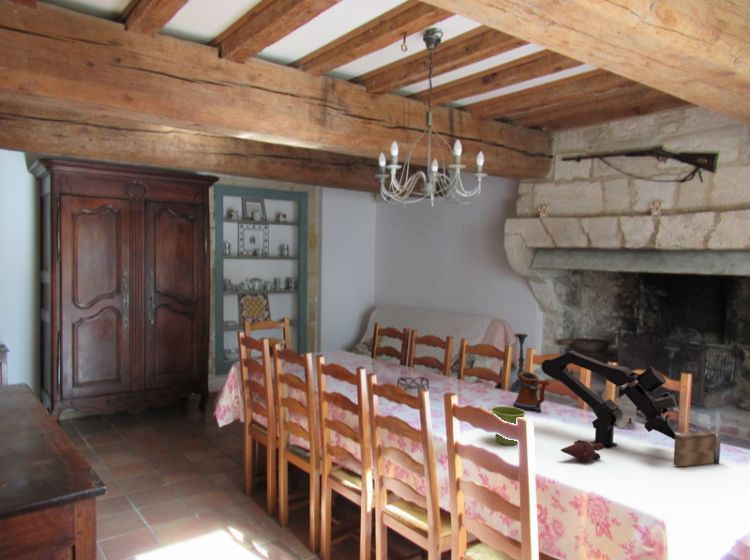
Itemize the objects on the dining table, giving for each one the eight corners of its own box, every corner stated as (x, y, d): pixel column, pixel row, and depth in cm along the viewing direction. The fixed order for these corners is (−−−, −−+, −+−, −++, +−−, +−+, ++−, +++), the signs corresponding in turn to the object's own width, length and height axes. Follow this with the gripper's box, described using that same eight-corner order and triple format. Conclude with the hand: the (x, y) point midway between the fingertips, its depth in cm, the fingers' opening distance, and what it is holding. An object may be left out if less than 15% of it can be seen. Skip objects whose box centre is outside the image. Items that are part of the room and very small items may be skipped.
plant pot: (531, 444, 195) (533, 412, 194) (507, 450, 188) (508, 417, 188) (506, 434, 204) (507, 404, 204) (482, 439, 198) (483, 408, 198)
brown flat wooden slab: (708, 460, 183) (710, 431, 183) (714, 463, 181) (716, 434, 180) (672, 464, 179) (674, 434, 178) (678, 466, 177) (680, 436, 176)
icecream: (570, 447, 174) (611, 449, 178) (558, 434, 181) (598, 435, 185) (564, 466, 176) (605, 467, 180) (552, 452, 183) (592, 454, 186)
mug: (557, 414, 234) (559, 378, 233) (535, 416, 229) (537, 380, 228) (529, 403, 250) (530, 369, 250) (507, 405, 246) (509, 371, 245)
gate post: (717, 464, 181) (719, 435, 180) (709, 462, 183) (711, 433, 182) (720, 463, 182) (722, 434, 182) (712, 461, 184) (714, 432, 184)
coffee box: (613, 421, 226) (615, 382, 225) (630, 423, 224) (632, 383, 224) (618, 428, 217) (620, 387, 216) (636, 430, 215) (638, 388, 215)
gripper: (658, 391, 178) (696, 432, 172) (664, 380, 193) (699, 418, 188) (629, 411, 182) (665, 452, 177) (638, 399, 198) (671, 436, 192)
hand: (676, 439), depth 183 cm, fingers closed
